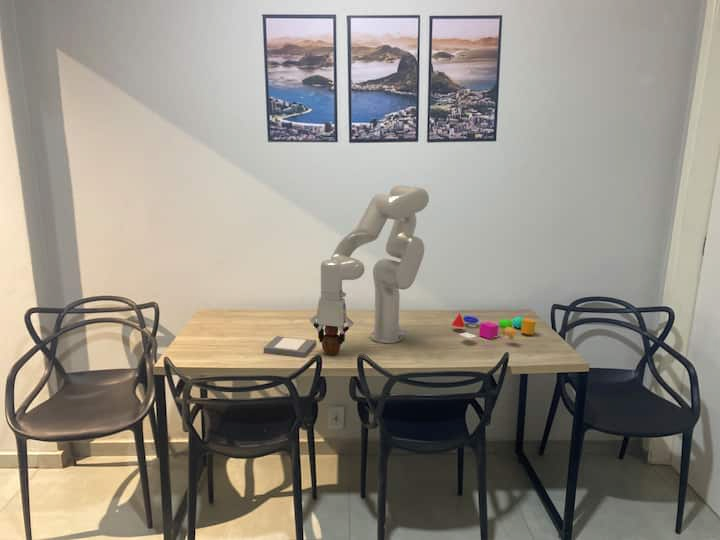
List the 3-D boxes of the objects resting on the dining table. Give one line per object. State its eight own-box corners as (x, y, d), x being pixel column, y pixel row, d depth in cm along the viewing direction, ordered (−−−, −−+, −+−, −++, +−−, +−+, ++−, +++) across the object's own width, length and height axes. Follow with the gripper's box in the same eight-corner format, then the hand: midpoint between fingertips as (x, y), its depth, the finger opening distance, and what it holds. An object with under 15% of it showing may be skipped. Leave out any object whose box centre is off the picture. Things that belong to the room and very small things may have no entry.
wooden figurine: (343, 352, 192) (343, 313, 188) (336, 358, 187) (336, 318, 183) (327, 349, 195) (326, 311, 191) (319, 355, 190) (319, 315, 186)
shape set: (546, 339, 212) (549, 322, 210) (493, 353, 190) (496, 334, 188) (487, 319, 234) (489, 304, 233) (434, 330, 212) (436, 313, 211)
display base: (316, 345, 198) (316, 339, 198) (305, 357, 187) (305, 352, 186) (277, 340, 202) (276, 335, 202) (263, 352, 191) (263, 347, 190)
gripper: (357, 294, 187) (357, 340, 191) (311, 290, 191) (312, 335, 195) (352, 300, 180) (351, 348, 184) (304, 295, 184) (305, 343, 188)
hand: (331, 341), depth 190 cm, fingers closed on wooden figurine, 6 cm apart
